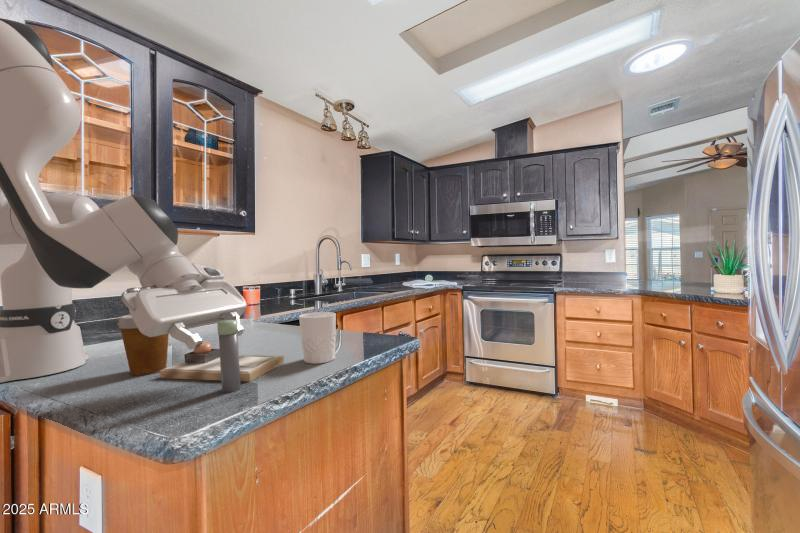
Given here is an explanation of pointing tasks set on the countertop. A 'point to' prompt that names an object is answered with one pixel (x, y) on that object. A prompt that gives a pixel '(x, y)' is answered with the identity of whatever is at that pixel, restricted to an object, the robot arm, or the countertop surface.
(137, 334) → the disposable coffee cup
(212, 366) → the wooden tray
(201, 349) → the button
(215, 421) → the countertop surface
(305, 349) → the white cup
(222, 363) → the marker
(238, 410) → the countertop surface
